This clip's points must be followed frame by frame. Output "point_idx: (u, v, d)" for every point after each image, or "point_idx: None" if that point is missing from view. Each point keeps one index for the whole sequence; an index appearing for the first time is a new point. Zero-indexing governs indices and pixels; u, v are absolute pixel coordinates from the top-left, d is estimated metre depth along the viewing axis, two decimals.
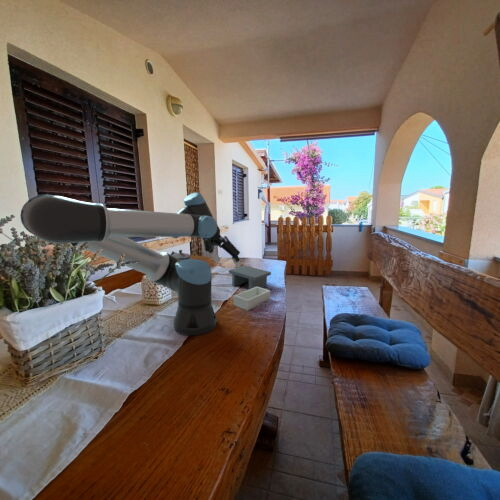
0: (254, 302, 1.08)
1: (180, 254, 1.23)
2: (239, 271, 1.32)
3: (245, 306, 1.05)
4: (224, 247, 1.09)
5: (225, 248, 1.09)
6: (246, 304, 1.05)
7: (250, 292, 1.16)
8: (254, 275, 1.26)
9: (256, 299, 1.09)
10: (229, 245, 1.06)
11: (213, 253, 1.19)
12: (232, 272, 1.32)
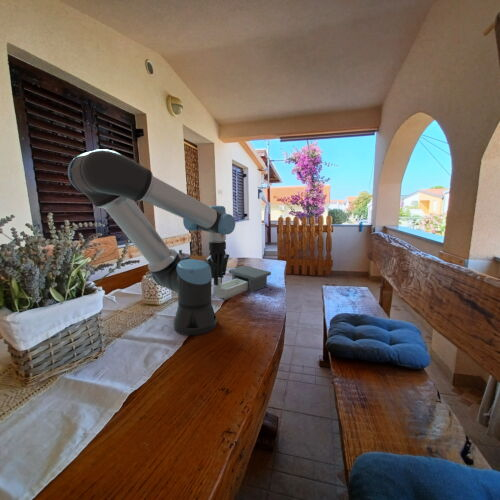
0: (232, 291, 1.19)
1: (180, 254, 1.23)
2: (239, 271, 1.32)
3: (223, 295, 1.16)
4: (213, 265, 1.14)
5: (213, 266, 1.14)
6: (224, 293, 1.16)
7: (229, 283, 1.27)
8: (254, 275, 1.26)
9: (234, 289, 1.19)
10: None
11: None
12: (232, 272, 1.32)
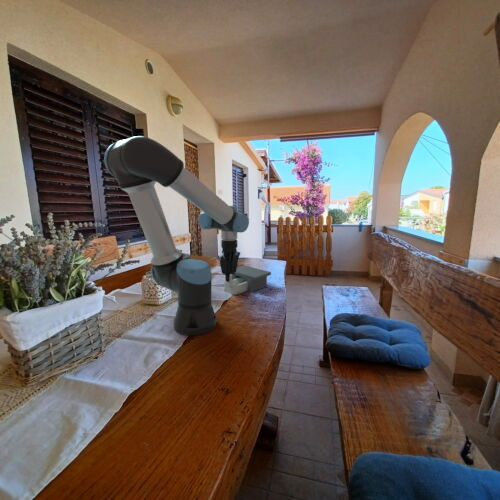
0: (243, 287, 1.24)
1: None
2: (239, 271, 1.32)
3: (234, 291, 1.22)
4: (225, 262, 1.19)
5: None
6: (235, 289, 1.21)
7: (239, 280, 1.33)
8: (254, 275, 1.26)
9: (244, 285, 1.25)
10: (221, 263, 1.17)
11: None
12: None
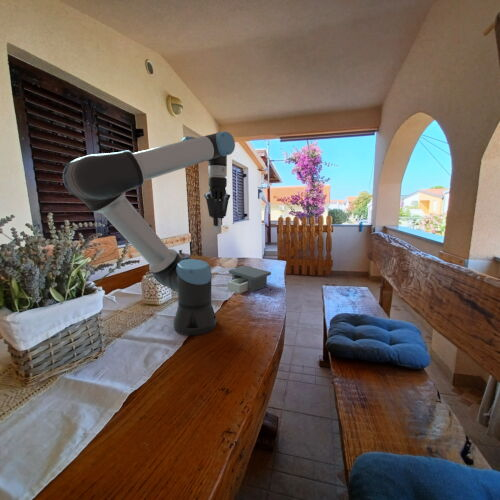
0: (245, 286, 1.26)
1: (180, 254, 1.23)
2: (239, 271, 1.32)
3: (237, 290, 1.23)
4: (212, 204, 1.07)
5: (212, 205, 1.07)
6: (238, 288, 1.23)
7: (242, 279, 1.34)
8: (254, 275, 1.26)
9: (247, 284, 1.27)
10: (208, 203, 1.04)
11: None
12: (232, 272, 1.32)
